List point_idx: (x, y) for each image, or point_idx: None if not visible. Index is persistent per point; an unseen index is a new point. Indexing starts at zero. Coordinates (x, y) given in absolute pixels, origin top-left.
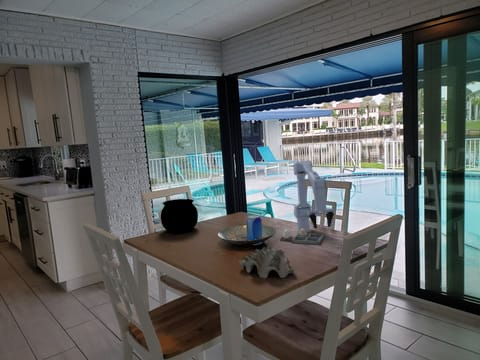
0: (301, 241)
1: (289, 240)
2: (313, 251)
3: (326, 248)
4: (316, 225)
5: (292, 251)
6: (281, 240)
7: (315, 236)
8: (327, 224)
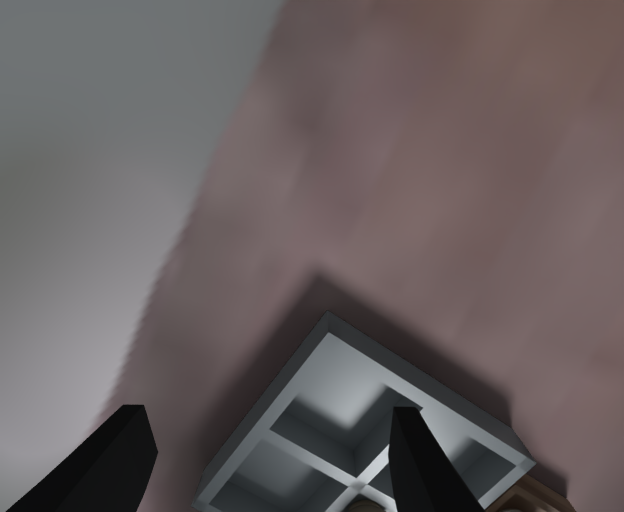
0: (459, 410)
1: (520, 482)
2: (432, 199)
3: (282, 239)
4: (417, 450)
5: (604, 265)
6: (569, 509)
7: (263, 508)
8: (140, 495)
